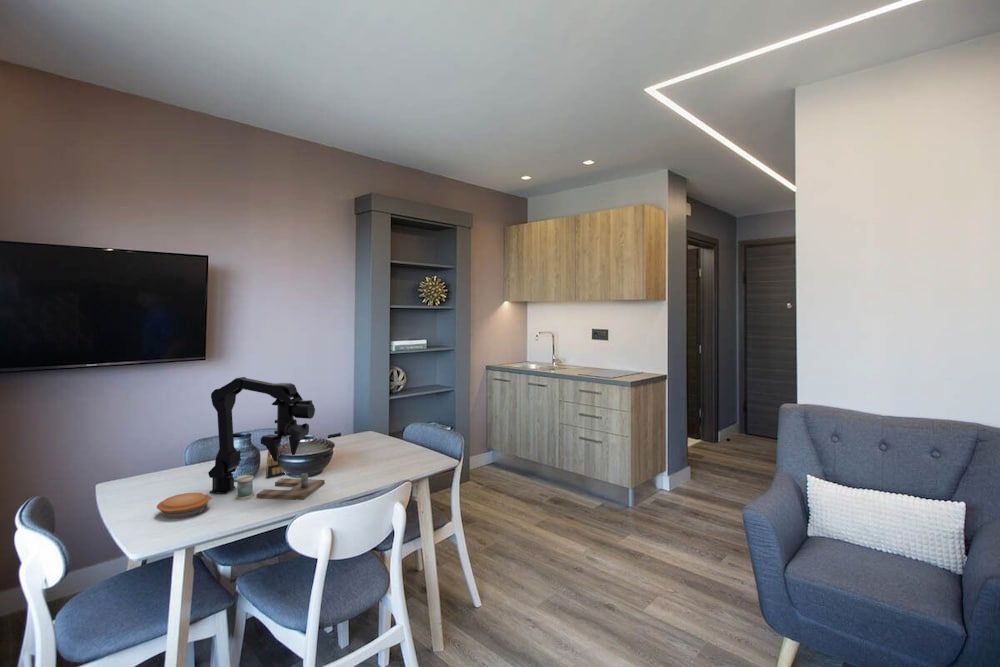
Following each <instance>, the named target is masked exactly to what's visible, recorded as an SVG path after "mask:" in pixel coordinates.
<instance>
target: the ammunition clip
mask: <svg viewBox="0 0 1000 667" xmlns="http://www.w3.org/2000/svg"><path fill="white" fill-rule="evenodd" d="M280 447H281V448H283V446H280ZM281 448H278V451H279V452H280V450H279V449H281ZM285 448H287V449H288V447H287V445H286V446H285V447H284V449H285ZM265 470H266V472H265V478H266V479H271V478H277V477H281V476H286V475H285V473H284V471H283V470H282V469H281V467H280V466H279V464H278V462H277V461H276V462H275V461H274V460H273V458H272V456H271V454H270V452H269V451H268V450H267V458H266V469H265Z"/></svg>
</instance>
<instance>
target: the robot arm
mask: <svg viewBox="0 0 1000 667" xmlns="http://www.w3.org/2000/svg"><path fill="white" fill-rule="evenodd" d="M243 390H247V391H251V392H256V393H261V394H265V395H268V396H271V397H272V398H274V399H275V401H273V402H272V403H271V405H272V406H276V407H277V409H276V410H277V413H276V415H277V416H276V417H277V418H276V419H274V424H276V430H275V431H274V434H270V433H269V434H266V435H263V436H261V438H260V444H261V445H263V447H264V446H265V447H266V449H267V452H268V451H269V452H270V454H271V458H273V460H274V461H275V462H276V461H277V459H278V449H280V447H282V446H281V445H282V443H281V442H282V440H283V439H287V438H288V443H289V447H290V448H291V453H292V456H295V455H296V454H297V451H298V447H299V445H300V442H301V441H302V440H304V439H305V438H306V436H308V434H309V433H310V424H309V423H306V422H305V423H303V424H297V423H298V422H297V421H298V420H297V419H313V418H314V416H315V412H316V408H315V405H314V403H313V400H311V399H310V400H309V399H307V400H303V398H302V396H301V394H300V393H299V392H298V390H297V387H296V385H295V384H294V383H290V382H289V383H288V382H282V383H281V382H280V383H273V382H267V381H262V380H259V379H258V380H257V379H252V378H247V377H245V376H240V377H235V378H234V379H233V380H232V381H230V382H228V383H227V384H225V385H224V386H221V387H220V388H217V389H214V390H213V391H211V392H210V393H211V395H210V400H211V404H212V407H213V408H214V409H215V411H216V413H217V428H218V448H219V449H218V451H217V454H216V456H215V461H214V466H213V467H212V468H211V469H210V470H209V471H208V472H207V474H208V478H210V479H212V481H211V482H212V487H211V488H212V490H210V491H209V493H210V494H211V493H212V494H227V493H229V492H231V491H233V490H234V489H236V486H235V477H234V473H235V472H236V470H237V468H238V467H239V466H240V463H241V461H242V458H241V450H237V449H236V448H235V442H234V441H235V440H234V424H233V408H234V406H235V404H236V398H237V395H239V393H241V392H242V391H243Z"/></svg>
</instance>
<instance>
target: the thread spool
mask: <svg viewBox="0 0 1000 667" xmlns="http://www.w3.org/2000/svg"><path fill="white" fill-rule="evenodd" d="M254 478H255V477H254V475H253V474H244V475H240V476H237V477H236V478H235V481H236V482H237V494H236V495H235V496H236V497H235V498H236V500H248V499H251V498H254V495H255V492H253V491H254V490H253V482H254V481H253V480H254Z"/></svg>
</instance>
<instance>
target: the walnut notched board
mask: <svg viewBox="0 0 1000 667" xmlns="http://www.w3.org/2000/svg"><path fill="white" fill-rule="evenodd" d="M325 481H326V480H325V479H315V478H314V479H312V478H311V479H310V478H309V474H308V473H307V472H306V473H304V472H303V473H301V474H300V478H288V477H287V478H286V477H281V478H280V479H278V480H277V481H275V482H274V486H275V487H289V488H290V487H292V488H290V489H287V490H286V489H266V488H265V489H264V488H263V489H262V490H261V491H259V492H257V493H256V494H255V496H256V499H275V500H279V499H280V500H296V499H298V501H299V499H300V501H301V500H302V501H304V500H305V499H307V498H308V497H309V496H310V495H312V494H313V493H315V492H316V491H317V490H318V489H319V488H321V487H322V486H323V485H324V484H325Z"/></svg>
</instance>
